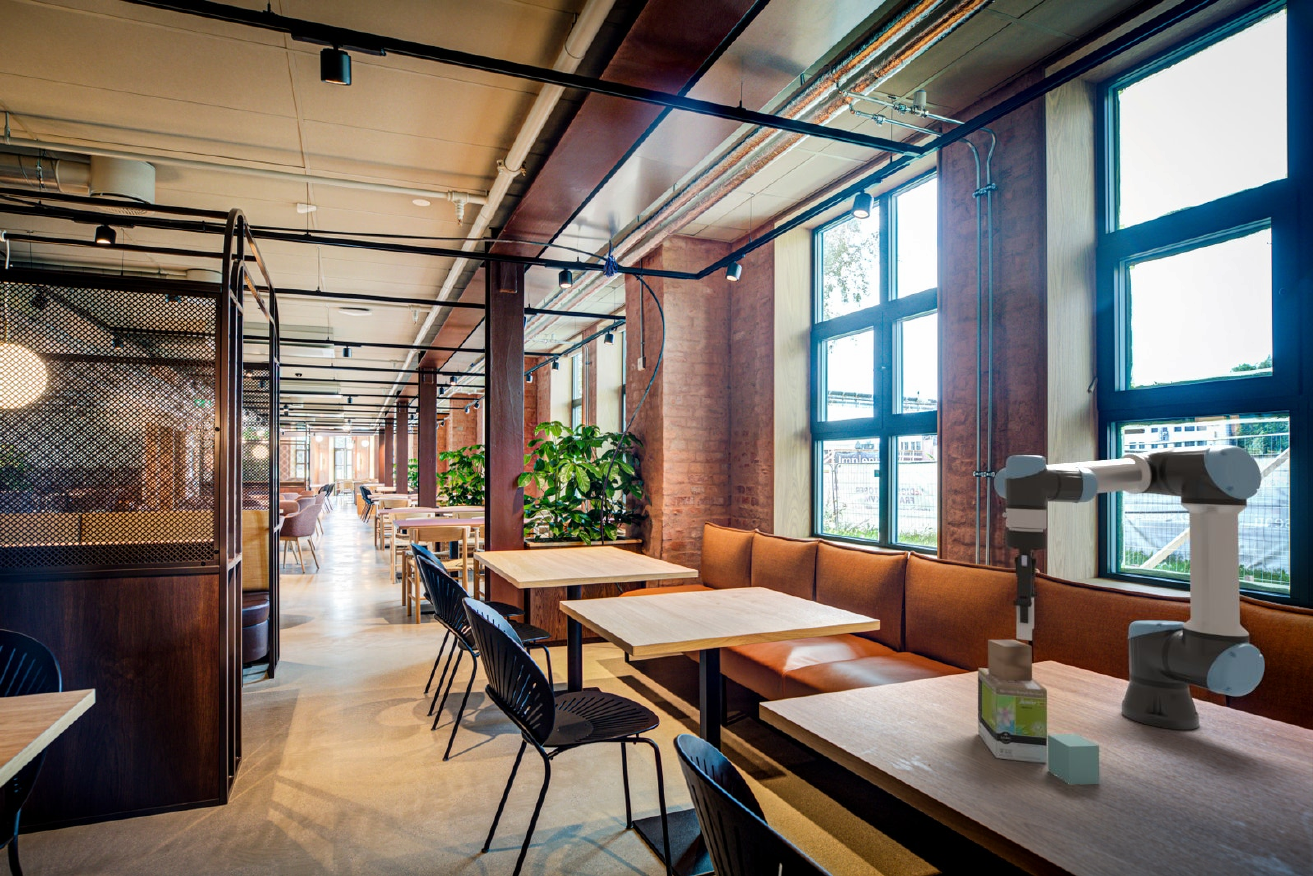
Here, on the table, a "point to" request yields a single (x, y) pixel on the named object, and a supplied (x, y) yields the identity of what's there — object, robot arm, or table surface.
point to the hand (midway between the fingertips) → (1025, 633)
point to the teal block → (1073, 759)
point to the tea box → (1012, 717)
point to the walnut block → (1010, 660)
